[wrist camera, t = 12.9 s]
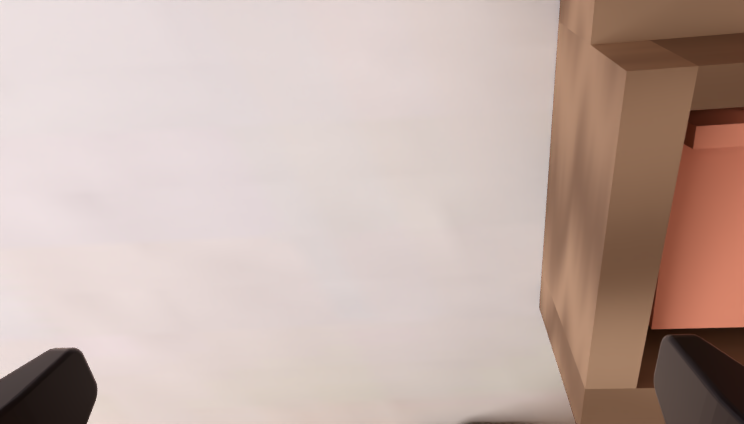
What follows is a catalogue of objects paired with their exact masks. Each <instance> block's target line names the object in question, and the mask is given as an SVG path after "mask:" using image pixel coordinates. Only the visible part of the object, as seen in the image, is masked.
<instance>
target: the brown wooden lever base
mask: <svg viewBox="0 0 744 424" xmlns="http://www.w3.org/2000/svg"><path fill="white" fill-rule="evenodd" d="M735 107H744V0H560V12H559V27H558V42H557V57H556V71H555V86H554V101H553V115H552V130H551V145H550V159H549V174H548V189H547V203H546V218H545V233H544V247H543V262H542V277H541V291H540V306H539V308H540V311H541V314H542V318H543V321H544V324H545V327H546V330H547V333H548V336H549V340H550V343H551V346H552V349H553V352H554V355H555V358H556V362H557V365H558V368H559V371H560V374H561V377H562V380H563V384H564V387H565V390H566V393H567V396H568V399H569V402H570V406H571V409H572V412H573V415H574V418H575V421H576V424H666V423H665V420H664V417H663V414H662V411H661V408H660V405H659V402H658V399H657V396H656V392H655V388H654V373H655V368H656V364H657V359H658V354H659V350H660V345H661V342H662V339H663V338H664V337H665V336H666V335H669V334H695V335H697V336H699V337H701V338H703V339H704V340H706V341H707V342H709V343H710V344H712V345H713V346H715V347H716V348H718V349H719V350H721V351H722V352H724V353H726V354H727V355H729V356H730V357H732V358H733V359H735V360H736V361H738V362H739V363H741V364H742V365H744V327H727V328H686V329H651V328H650V326H649V320H650V315H651V310H652V304H653V299H654V294H655V289H656V284H657V279H658V273H659V268H660V263H661V258H662V253H663V248H664V243H665V237H666V232H667V227H668V222H669V217H670V212H671V206H672V201H673V196H674V191H675V186H676V181H677V175H678V170H679V165H680V160H681V155H682V150H683V145H684V139H685V134H686V129H687V124H688V119H689V114H690V110H705V109H720V108H735Z"/></svg>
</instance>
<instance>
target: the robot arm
mask: <svg viewBox="0 0 744 424" xmlns="http://www.w3.org/2000/svg"><path fill="white" fill-rule="evenodd" d="M654 388H655V392H656V396H657V399H658V402H659V405H660V408H661V411H662V414H663V417H664V420H665V423H666V424H744V365H742V364H741V363H739V362H738V361H736V360H735V359H733V358H732V357H730V356H729V355H727V354H726V353H724V352H722V351H721V350H719V349H718V348H716V347H715V346H713V345H712V344H710V343H709V342H707V341H706V340H704V339H703V338H701V337H699V336H697V335H695V334H669V335H666V336H665V337H664V338H663V339H662V342H661V345H660V350H659V354H658V359H657V364H656V368H655V373H654ZM96 397H97V383H96V381H95V379H94V376H93V374H92V372H91V370H90V368H89V366H88V364H87V361H86V359H85V357H84V355H83V353H82V352H81V351H80V350H79V349H77V348H54V349H50V350H48V351H46V352H44V353H43V354H41V355H40V356H38V357H36V358H35V359H33V360H31V361H30V362H28V363H26V364H25V365H23V366H21V367H20V368H18V369H16V370H15V371H13V372H12V373H10V374H8V375H7V376H5V377H3V378H2V379H0V424H87V422H88V419H89V416H90V414H91V411H92V409H93V406H94V403H95V401H96Z"/></svg>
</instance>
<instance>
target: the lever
mask: <svg viewBox="0 0 744 424" xmlns="http://www.w3.org/2000/svg"><path fill="white" fill-rule="evenodd" d="M649 326H650V328H651V329H686V328H727V327H744V107H735V108H720V109H705V110H690V114H689V119H688V124H687V129H686V134H685V139H684V145H683V150H682V155H681V160H680V165H679V170H678V175H677V181H676V186H675V191H674V196H673V201H672V206H671V212H670V217H669V222H668V227H667V232H666V237H665V243H664V248H663V253H662V258H661V263H660V268H659V273H658V279H657V284H656V289H655V294H654V299H653V304H652V310H651V315H650V320H649Z"/></svg>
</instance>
